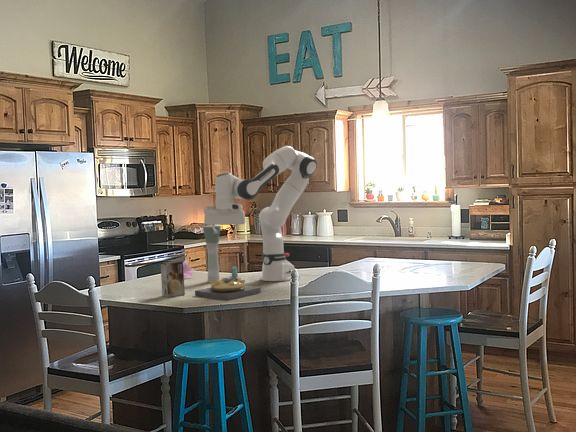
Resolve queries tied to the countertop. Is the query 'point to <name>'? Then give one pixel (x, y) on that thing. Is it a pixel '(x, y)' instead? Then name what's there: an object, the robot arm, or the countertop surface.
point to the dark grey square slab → (227, 293)
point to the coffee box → (172, 279)
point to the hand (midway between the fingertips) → (225, 233)
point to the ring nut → (228, 283)
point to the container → (212, 251)
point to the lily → (187, 270)
